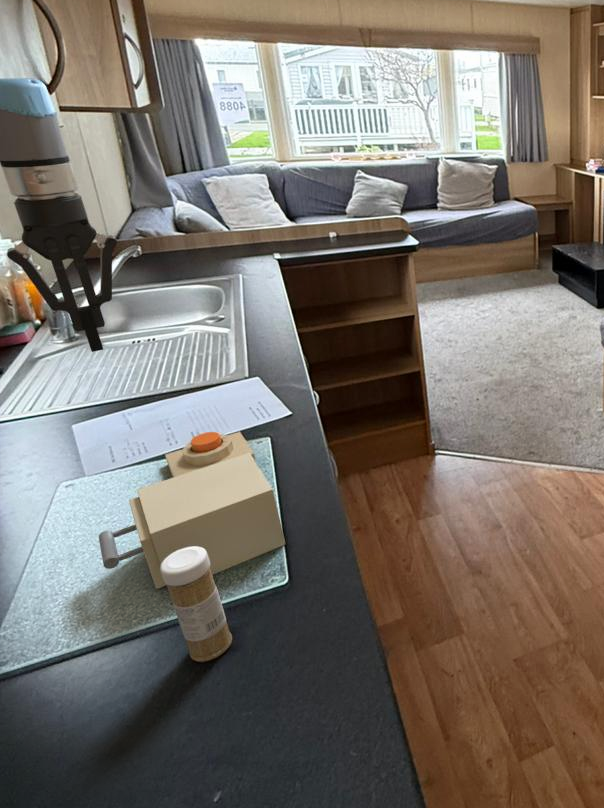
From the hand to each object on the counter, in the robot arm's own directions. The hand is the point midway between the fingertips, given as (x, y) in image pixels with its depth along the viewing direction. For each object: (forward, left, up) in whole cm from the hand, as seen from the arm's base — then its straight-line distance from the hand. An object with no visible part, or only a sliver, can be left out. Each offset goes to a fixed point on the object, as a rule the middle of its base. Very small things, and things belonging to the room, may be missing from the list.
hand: (96, 348), depth 101 cm
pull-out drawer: (+18, -20, -23) cm, 36 cm away
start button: (+10, +4, -21) cm, 23 cm away
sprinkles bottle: (+29, -37, -25) cm, 53 cm away
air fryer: (+21, -18, -24) cm, 37 cm away
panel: (+10, +4, -24) cm, 27 cm away
